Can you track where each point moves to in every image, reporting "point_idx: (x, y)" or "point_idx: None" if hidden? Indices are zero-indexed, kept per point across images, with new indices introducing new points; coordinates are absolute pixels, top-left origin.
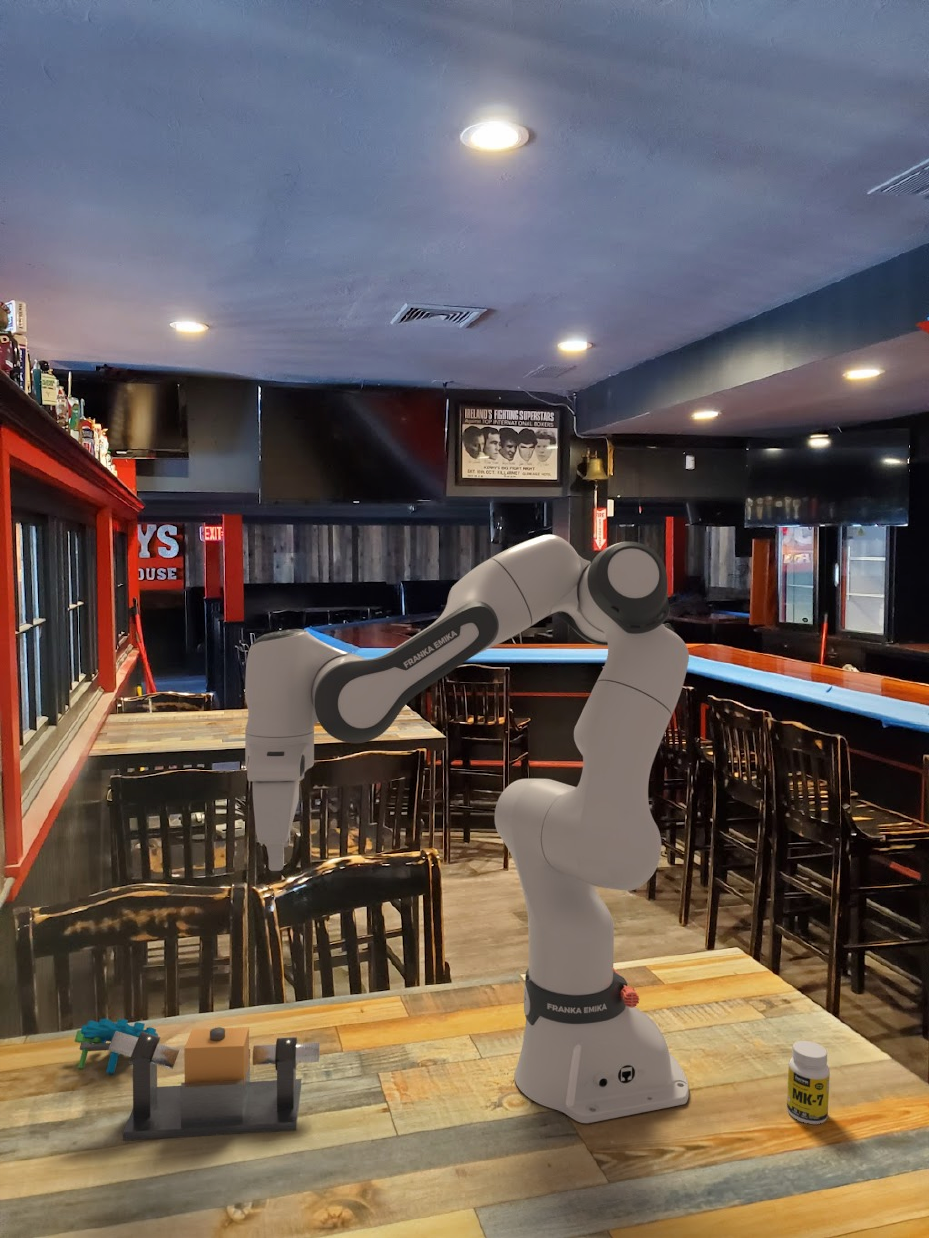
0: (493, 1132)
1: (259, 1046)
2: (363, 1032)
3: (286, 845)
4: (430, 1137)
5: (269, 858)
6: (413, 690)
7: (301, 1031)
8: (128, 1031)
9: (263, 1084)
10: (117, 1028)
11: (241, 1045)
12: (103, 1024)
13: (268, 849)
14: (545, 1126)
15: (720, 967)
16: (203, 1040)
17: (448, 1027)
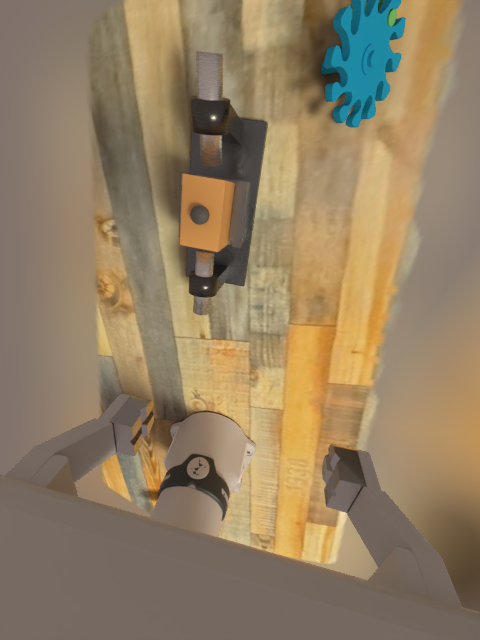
0: (171, 385)
1: (201, 259)
2: (314, 345)
3: (324, 464)
4: (170, 353)
5: (101, 416)
6: None
7: (338, 295)
8: (340, 75)
9: (242, 253)
10: (344, 52)
11: (180, 242)
12: (334, 19)
13: (54, 441)
14: (173, 409)
15: (314, 550)
16: (197, 197)
17: (298, 401)
